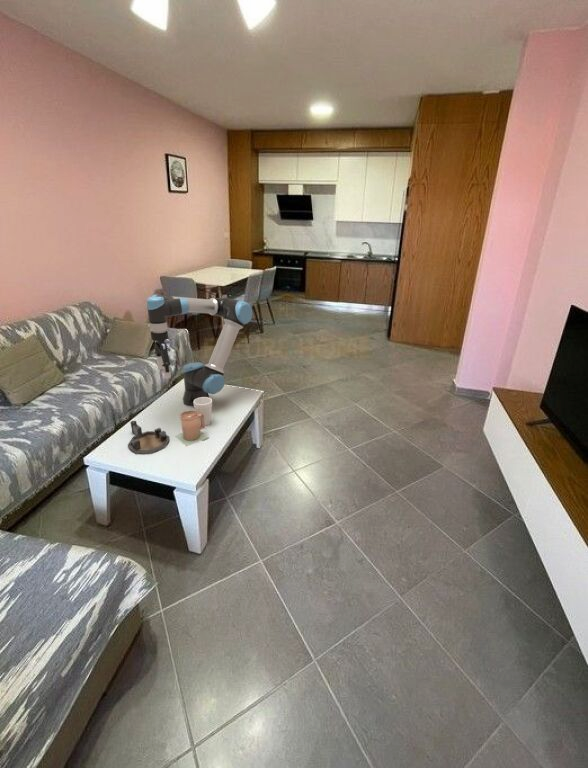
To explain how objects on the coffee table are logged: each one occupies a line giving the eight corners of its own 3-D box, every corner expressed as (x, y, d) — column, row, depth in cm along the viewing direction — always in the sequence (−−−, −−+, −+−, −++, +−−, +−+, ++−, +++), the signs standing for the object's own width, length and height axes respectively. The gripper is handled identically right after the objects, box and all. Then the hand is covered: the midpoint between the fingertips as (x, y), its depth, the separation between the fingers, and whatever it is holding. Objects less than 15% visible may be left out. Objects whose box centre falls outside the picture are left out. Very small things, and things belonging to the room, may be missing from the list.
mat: (196, 428, 185) (196, 427, 185) (209, 438, 177) (209, 437, 177) (174, 436, 177) (174, 435, 177) (186, 447, 169) (186, 446, 169)
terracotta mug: (179, 435, 177) (176, 414, 173) (200, 428, 184) (198, 407, 179) (187, 443, 171) (185, 420, 167) (208, 435, 178) (206, 413, 174)
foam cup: (209, 428, 185) (207, 406, 180) (192, 426, 187) (190, 403, 182) (216, 419, 194) (214, 398, 189) (200, 417, 195) (198, 396, 190)
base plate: (159, 430, 182) (159, 429, 182) (176, 445, 170) (176, 444, 170) (122, 443, 171) (122, 442, 171) (138, 460, 159) (137, 459, 159)
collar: (116, 437, 174) (114, 427, 171) (149, 424, 185) (148, 415, 183) (140, 457, 159) (138, 447, 157) (175, 442, 171) (173, 432, 169)
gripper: (145, 325, 176) (150, 366, 184) (156, 339, 156) (162, 383, 165) (161, 324, 180) (165, 364, 188) (174, 336, 160) (179, 380, 169)
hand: (164, 373), depth 177 cm, fingers open, 13 cm apart
